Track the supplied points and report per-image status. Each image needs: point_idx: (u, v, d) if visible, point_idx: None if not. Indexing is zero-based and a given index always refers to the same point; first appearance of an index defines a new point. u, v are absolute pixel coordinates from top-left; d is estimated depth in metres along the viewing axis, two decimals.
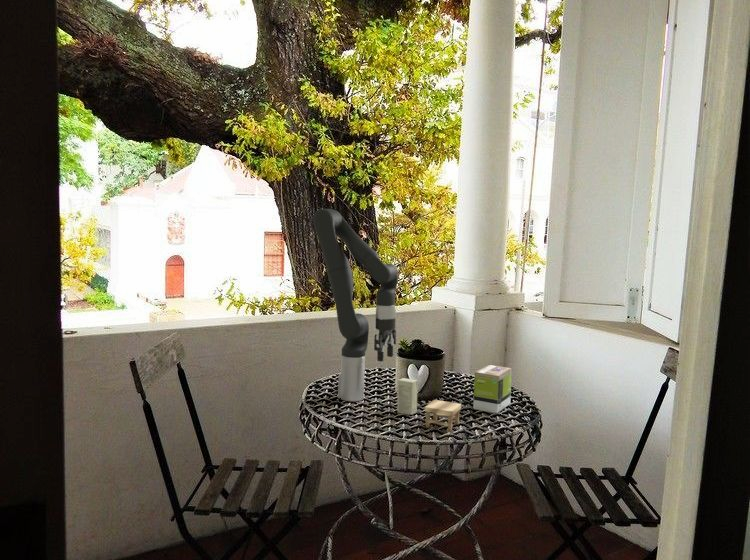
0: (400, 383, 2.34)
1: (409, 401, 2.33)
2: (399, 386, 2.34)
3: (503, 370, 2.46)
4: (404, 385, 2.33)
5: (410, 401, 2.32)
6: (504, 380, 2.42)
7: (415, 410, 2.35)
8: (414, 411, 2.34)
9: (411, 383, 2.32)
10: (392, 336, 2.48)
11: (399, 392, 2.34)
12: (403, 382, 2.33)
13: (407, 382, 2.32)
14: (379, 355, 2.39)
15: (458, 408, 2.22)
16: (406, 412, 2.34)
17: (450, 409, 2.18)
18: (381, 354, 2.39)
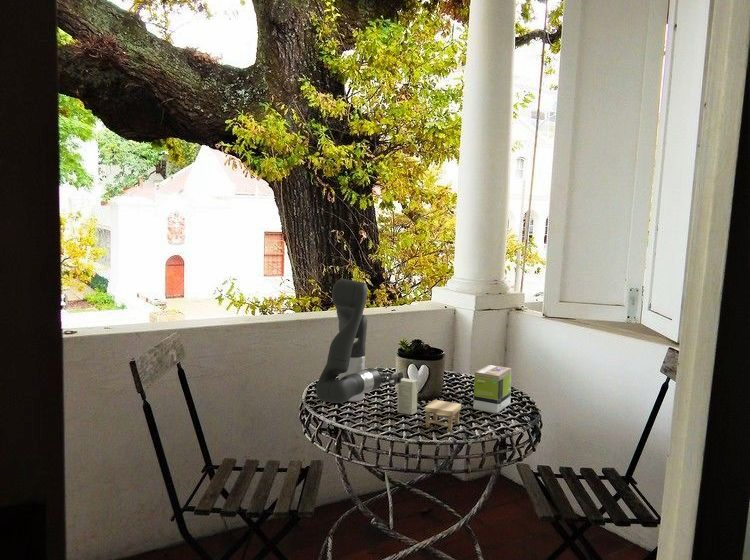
0: (400, 383, 2.34)
1: (409, 401, 2.33)
2: (399, 386, 2.34)
3: (503, 370, 2.46)
4: (404, 385, 2.33)
5: (410, 401, 2.32)
6: (504, 380, 2.42)
7: (415, 410, 2.35)
8: (414, 411, 2.34)
9: (411, 383, 2.32)
10: None
11: (399, 392, 2.34)
12: (403, 382, 2.33)
13: (407, 382, 2.32)
14: None
15: (458, 408, 2.22)
16: (406, 412, 2.34)
17: (450, 409, 2.18)
18: None
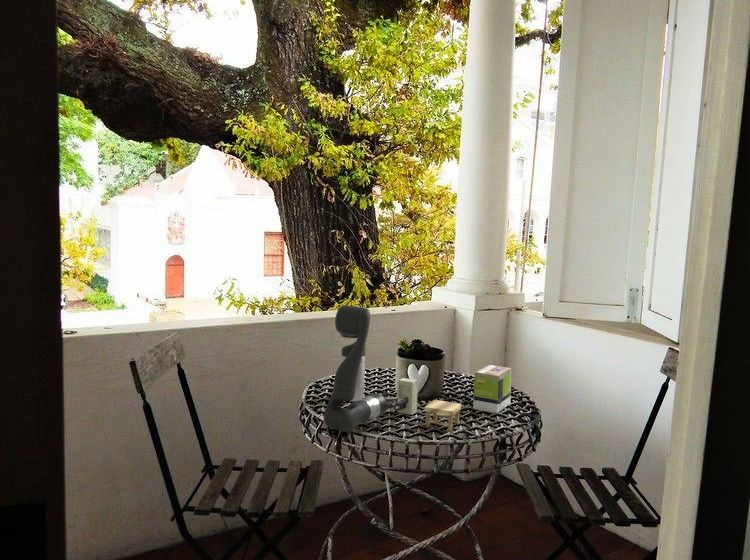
0: (400, 383, 2.34)
1: (409, 401, 2.33)
2: (399, 386, 2.34)
3: (503, 370, 2.46)
4: (404, 385, 2.33)
5: (410, 401, 2.32)
6: (504, 380, 2.42)
7: (415, 410, 2.35)
8: (414, 411, 2.34)
9: (411, 383, 2.32)
10: None
11: (399, 392, 2.34)
12: (403, 382, 2.33)
13: (407, 382, 2.32)
14: None
15: (458, 408, 2.22)
16: (406, 412, 2.34)
17: (450, 409, 2.18)
18: None
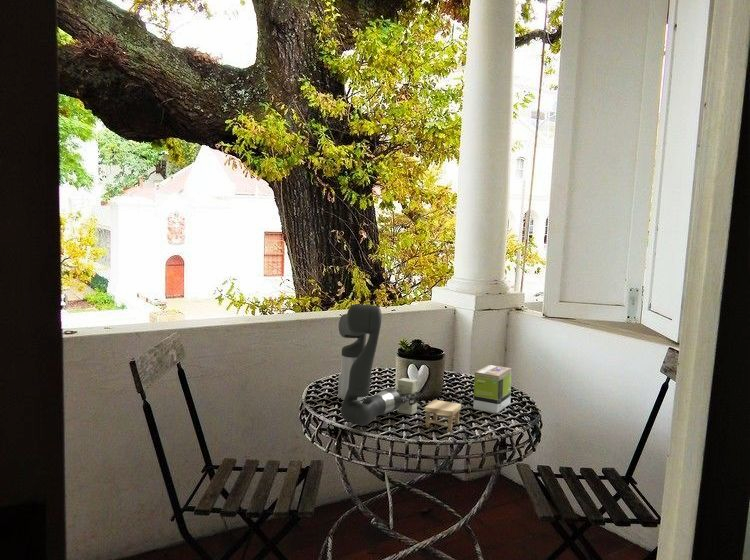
0: (400, 383, 2.34)
1: None
2: (399, 386, 2.34)
3: (503, 370, 2.46)
4: (404, 385, 2.33)
5: None
6: (504, 380, 2.42)
7: (415, 410, 2.35)
8: (414, 411, 2.34)
9: (411, 383, 2.32)
10: None
11: (399, 392, 2.34)
12: (403, 382, 2.33)
13: (408, 382, 2.32)
14: None
15: (458, 408, 2.22)
16: (406, 412, 2.34)
17: (450, 409, 2.18)
18: None
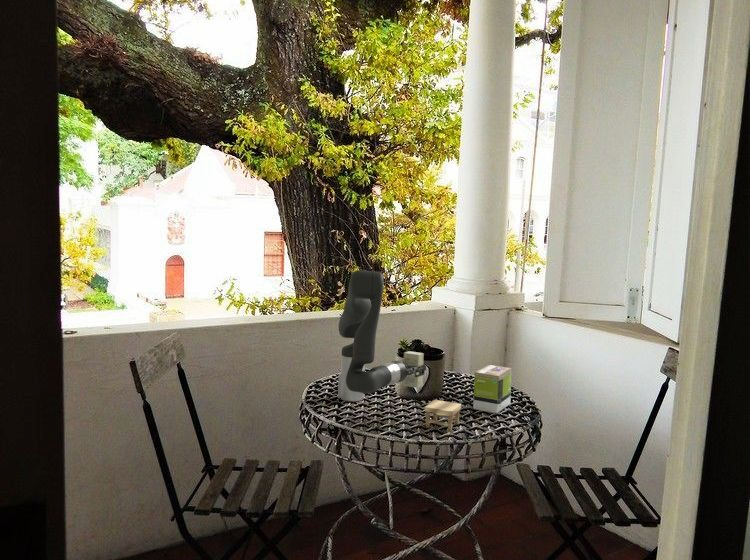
0: (406, 356, 2.31)
1: None
2: (405, 359, 2.31)
3: (503, 370, 2.46)
4: (410, 358, 2.30)
5: None
6: (504, 380, 2.42)
7: (421, 383, 2.32)
8: (420, 384, 2.31)
9: (417, 355, 2.29)
10: None
11: None
12: (409, 355, 2.30)
13: (414, 354, 2.29)
14: None
15: (458, 408, 2.22)
16: (412, 385, 2.30)
17: (450, 409, 2.18)
18: None
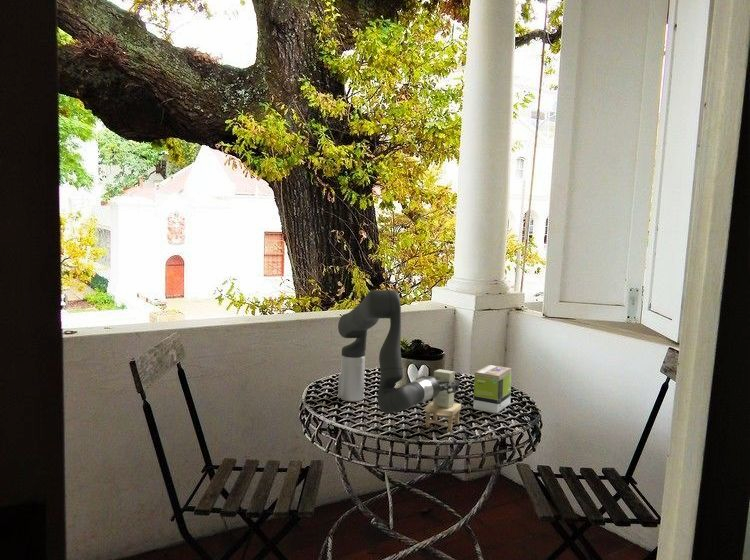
0: (436, 375, 2.21)
1: (446, 393, 2.19)
2: (435, 377, 2.21)
3: (503, 370, 2.46)
4: (441, 376, 2.20)
5: (447, 394, 2.19)
6: (504, 380, 2.42)
7: (452, 403, 2.21)
8: (451, 404, 2.21)
9: (448, 374, 2.18)
10: None
11: None
12: (440, 373, 2.20)
13: (444, 373, 2.19)
14: None
15: (458, 408, 2.22)
16: (442, 405, 2.20)
17: (450, 409, 2.18)
18: None
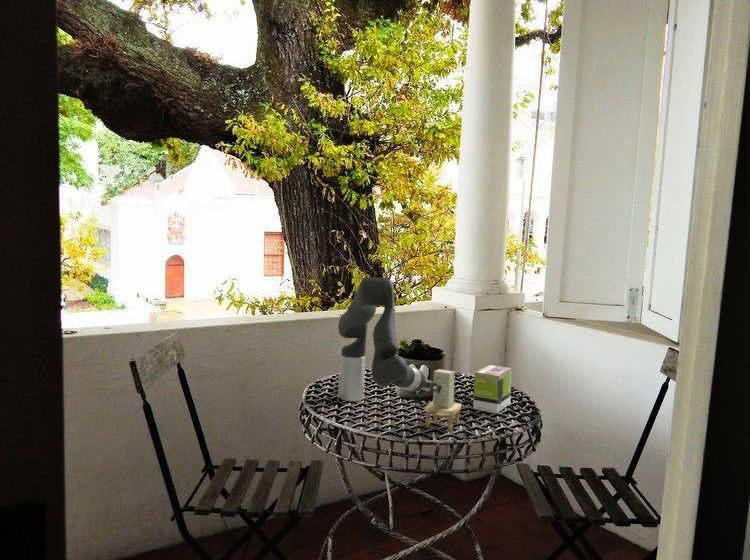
0: (436, 375, 2.21)
1: (446, 393, 2.19)
2: (435, 378, 2.21)
3: (503, 370, 2.46)
4: (440, 376, 2.20)
5: (447, 394, 2.19)
6: (504, 380, 2.42)
7: (452, 403, 2.21)
8: (451, 404, 2.21)
9: (448, 374, 2.18)
10: None
11: None
12: (439, 373, 2.20)
13: (444, 373, 2.19)
14: None
15: (458, 408, 2.22)
16: (442, 405, 2.20)
17: (450, 409, 2.18)
18: None
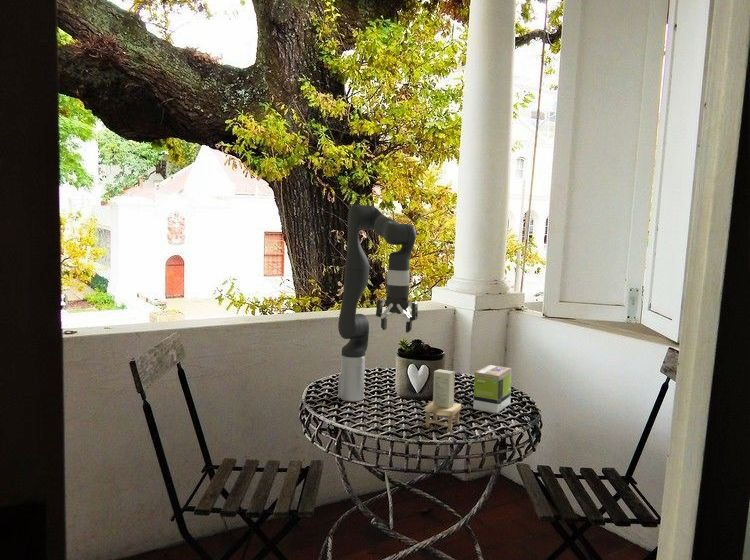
0: (436, 375, 2.21)
1: (446, 393, 2.19)
2: (435, 378, 2.21)
3: (503, 370, 2.46)
4: (440, 376, 2.20)
5: (447, 394, 2.19)
6: (504, 380, 2.42)
7: (452, 403, 2.21)
8: (451, 404, 2.21)
9: (448, 374, 2.18)
10: None
11: (435, 384, 2.21)
12: (439, 373, 2.20)
13: (444, 373, 2.19)
14: None
15: (458, 408, 2.22)
16: (442, 405, 2.20)
17: (450, 409, 2.18)
18: (382, 321, 2.18)
